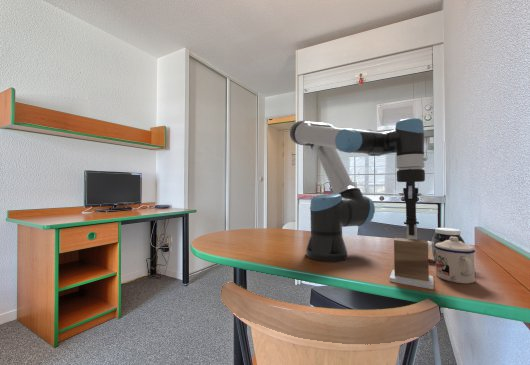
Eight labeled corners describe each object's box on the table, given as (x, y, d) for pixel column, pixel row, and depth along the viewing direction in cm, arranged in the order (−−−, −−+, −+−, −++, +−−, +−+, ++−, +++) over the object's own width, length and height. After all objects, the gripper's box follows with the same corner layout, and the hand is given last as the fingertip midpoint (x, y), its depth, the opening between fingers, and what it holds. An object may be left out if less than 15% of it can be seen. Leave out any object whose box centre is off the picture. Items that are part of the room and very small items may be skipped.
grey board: (389, 281, 67) (389, 277, 67) (392, 272, 74) (392, 269, 74) (433, 289, 61) (433, 285, 61) (432, 279, 68) (432, 275, 68)
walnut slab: (428, 281, 64) (428, 243, 64) (394, 275, 68) (394, 240, 69) (428, 276, 68) (427, 240, 68) (395, 271, 72) (395, 237, 72)
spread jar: (470, 269, 77) (469, 232, 77) (430, 267, 79) (430, 231, 79) (450, 258, 89) (449, 226, 89) (415, 256, 91) (415, 225, 91)
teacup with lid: (429, 271, 74) (428, 233, 75) (463, 273, 73) (462, 234, 73) (451, 287, 63) (449, 242, 63) (492, 290, 61) (490, 243, 61)
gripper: (425, 167, 68) (426, 251, 68) (424, 170, 79) (426, 242, 79) (394, 168, 72) (396, 248, 72) (398, 171, 83) (399, 240, 83)
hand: (411, 245), depth 75 cm, fingers closed
